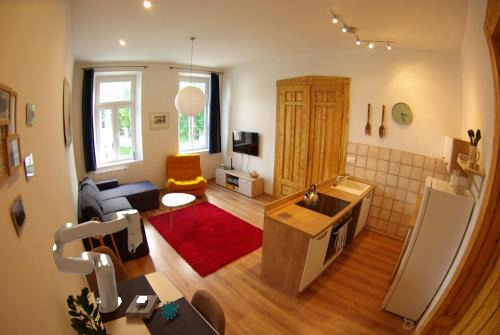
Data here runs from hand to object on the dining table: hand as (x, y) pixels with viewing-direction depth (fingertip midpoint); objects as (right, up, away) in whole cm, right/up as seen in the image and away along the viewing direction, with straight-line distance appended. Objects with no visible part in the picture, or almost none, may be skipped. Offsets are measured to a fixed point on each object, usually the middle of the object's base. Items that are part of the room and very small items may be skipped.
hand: (137, 253), depth 164 cm
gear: (+25, -34, -11) cm, 44 cm away
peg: (+6, -33, -6) cm, 34 cm away
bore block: (+6, -33, -7) cm, 34 cm away
